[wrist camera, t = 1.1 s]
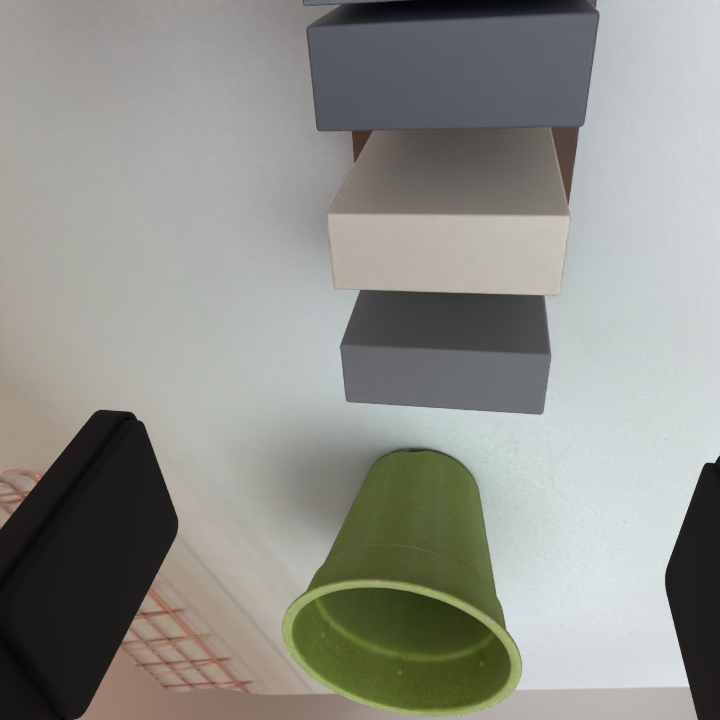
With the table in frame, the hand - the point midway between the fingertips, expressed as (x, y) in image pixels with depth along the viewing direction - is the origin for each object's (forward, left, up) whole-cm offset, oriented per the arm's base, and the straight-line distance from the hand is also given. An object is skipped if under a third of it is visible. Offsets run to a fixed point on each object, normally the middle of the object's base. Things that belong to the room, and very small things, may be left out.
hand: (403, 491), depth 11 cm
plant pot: (+22, -2, -20) cm, 29 cm away
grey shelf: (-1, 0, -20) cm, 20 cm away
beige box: (0, 0, -18) cm, 18 cm away
